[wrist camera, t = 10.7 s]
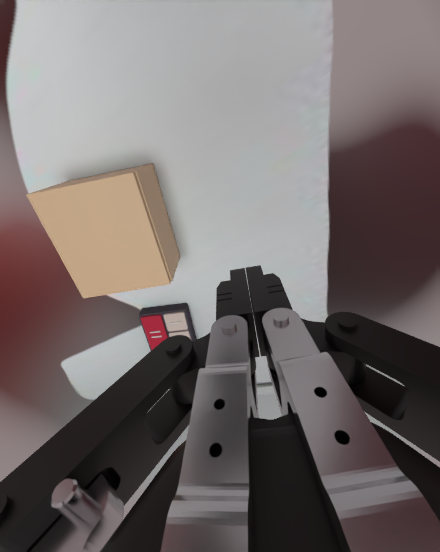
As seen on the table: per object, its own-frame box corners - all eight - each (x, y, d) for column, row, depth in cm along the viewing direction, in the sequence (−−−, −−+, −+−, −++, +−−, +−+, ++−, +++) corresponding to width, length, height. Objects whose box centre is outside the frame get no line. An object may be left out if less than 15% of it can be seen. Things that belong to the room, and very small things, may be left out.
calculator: (185, 311, 55) (198, 361, 62) (187, 300, 59) (199, 348, 66) (136, 316, 56) (154, 366, 63) (142, 306, 60) (158, 353, 67)
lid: (134, 171, 35) (132, 172, 34) (170, 281, 44) (170, 283, 43) (29, 193, 36) (26, 194, 36) (85, 295, 45) (83, 298, 44)
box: (152, 163, 44) (136, 171, 35) (180, 256, 53) (172, 280, 44) (66, 181, 45) (30, 193, 37) (107, 268, 54) (85, 295, 45)
